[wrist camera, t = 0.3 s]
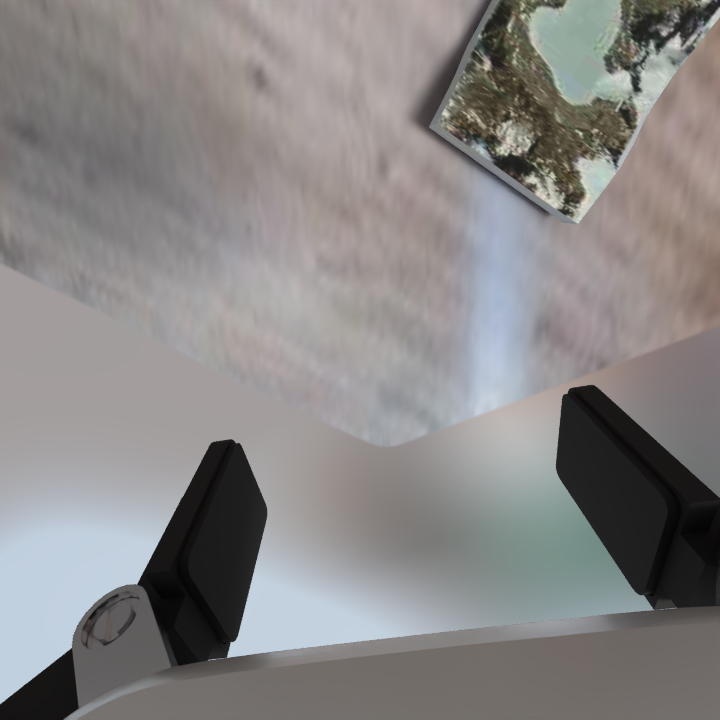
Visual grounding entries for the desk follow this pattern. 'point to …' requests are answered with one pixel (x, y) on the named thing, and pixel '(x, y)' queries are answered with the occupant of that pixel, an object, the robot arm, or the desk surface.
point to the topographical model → (565, 90)
